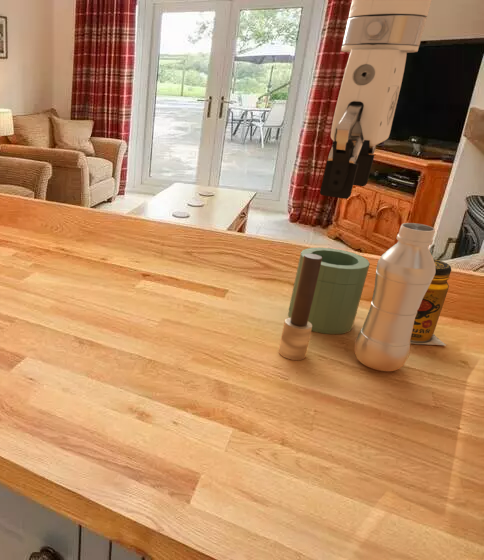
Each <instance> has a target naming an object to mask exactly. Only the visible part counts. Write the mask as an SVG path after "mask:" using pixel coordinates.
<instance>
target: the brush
mask: <svg viewBox="0 0 484 560" xmlns="http://www.w3.org/2000/svg"><path fill="white" fill-rule="evenodd" d="M321 262H322V257H321V256H319V255H316V254H305V255H304V259H303V263H302V268H301V273H300V278H299V282H298V287H297V292H296V296H295V301H294V306H293V310H292V315H291V318H289V317H287V318H285V319H284V322H283V326H282V327H283V328H282V332H281V337H280V342H279V347H278V353H279V355H280V356H282V357H283V358H286V359H288V360H290V361H291V360H292V361H302V360H304V359H305V358H306V356H307V350H308V347H309V342H310V338H311V334H312V331H311V330H312V324H311V323H310V322H309V321H308V318H309V314H310V310H311V305H312V301H313V297H314V292H315V288H316V283H317V279H318V275H319V270H320V266H321Z"/></svg>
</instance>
